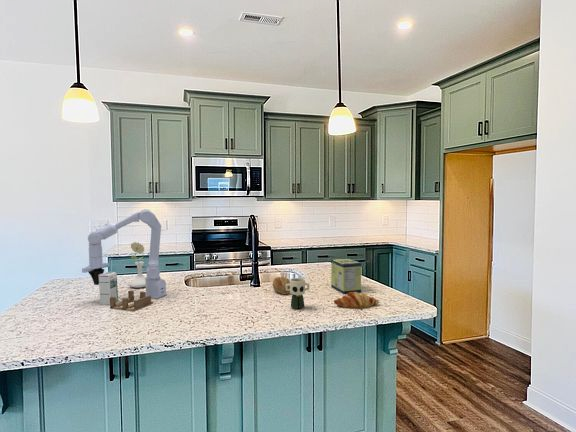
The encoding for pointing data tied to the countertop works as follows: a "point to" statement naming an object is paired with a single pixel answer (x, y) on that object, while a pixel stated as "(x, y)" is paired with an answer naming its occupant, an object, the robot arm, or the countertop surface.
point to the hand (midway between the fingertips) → (96, 284)
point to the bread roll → (281, 285)
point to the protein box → (346, 275)
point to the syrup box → (108, 287)
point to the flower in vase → (138, 267)
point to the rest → (137, 304)
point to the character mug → (297, 291)
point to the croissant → (356, 300)
